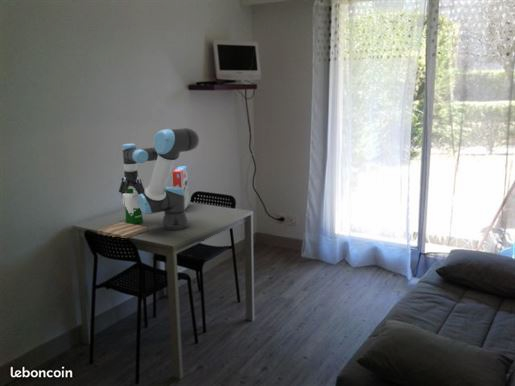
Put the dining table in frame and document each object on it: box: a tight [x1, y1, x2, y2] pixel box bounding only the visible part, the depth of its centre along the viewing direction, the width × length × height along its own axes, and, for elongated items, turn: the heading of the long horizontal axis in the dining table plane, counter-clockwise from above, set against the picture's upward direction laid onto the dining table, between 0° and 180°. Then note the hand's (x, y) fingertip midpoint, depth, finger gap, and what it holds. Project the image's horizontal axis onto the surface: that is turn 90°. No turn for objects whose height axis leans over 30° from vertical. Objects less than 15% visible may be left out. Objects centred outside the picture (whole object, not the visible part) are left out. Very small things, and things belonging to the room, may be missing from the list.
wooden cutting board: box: [96, 222, 148, 239], centre depth 248 cm, size 20×18×2 cm
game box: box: [172, 165, 190, 210], centre depth 295 cm, size 21×6×27 cm, turn 178°
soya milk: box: [123, 188, 144, 225], centre depth 265 cm, size 9×9×20 cm
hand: (133, 205), depth 265 cm, fingers open, 13 cm apart
